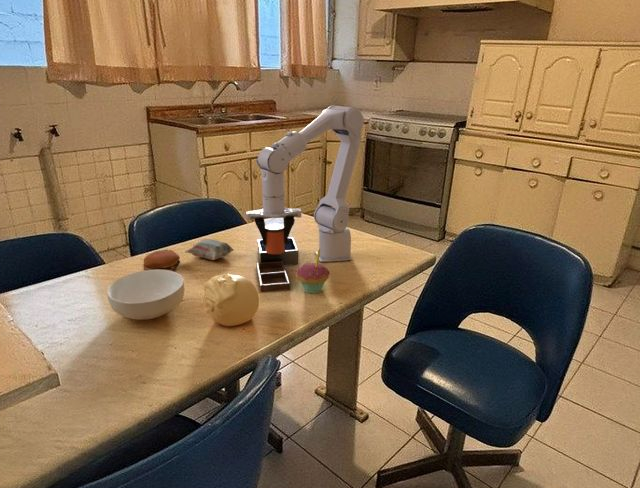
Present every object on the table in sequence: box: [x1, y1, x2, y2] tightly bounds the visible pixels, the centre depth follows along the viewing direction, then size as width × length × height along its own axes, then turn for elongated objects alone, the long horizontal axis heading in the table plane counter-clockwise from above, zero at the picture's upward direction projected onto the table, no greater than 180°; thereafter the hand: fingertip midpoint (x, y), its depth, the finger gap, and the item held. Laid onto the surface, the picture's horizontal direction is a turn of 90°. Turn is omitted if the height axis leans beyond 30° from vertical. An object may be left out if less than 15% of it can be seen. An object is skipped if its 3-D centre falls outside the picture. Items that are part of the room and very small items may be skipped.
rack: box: [256, 261, 291, 293], centre depth 123 cm, size 8×14×2 cm, turn 12°
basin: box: [257, 236, 299, 266], centre depth 136 cm, size 11×11×4 cm
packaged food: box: [184, 238, 235, 261], centre depth 137 cm, size 9×12×5 cm
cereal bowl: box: [106, 270, 186, 320], centre depth 105 cm, size 17×17×7 cm
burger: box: [143, 249, 181, 271], centre depth 128 cm, size 10×9×5 cm
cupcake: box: [295, 248, 331, 294], centre depth 116 cm, size 9×8×12 cm
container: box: [265, 223, 285, 254], centre depth 124 cm, size 5×5×7 cm
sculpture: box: [203, 272, 260, 327], centre depth 102 cm, size 12×12×11 cm
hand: (274, 243), depth 124 cm, fingers closed on container, 5 cm apart
